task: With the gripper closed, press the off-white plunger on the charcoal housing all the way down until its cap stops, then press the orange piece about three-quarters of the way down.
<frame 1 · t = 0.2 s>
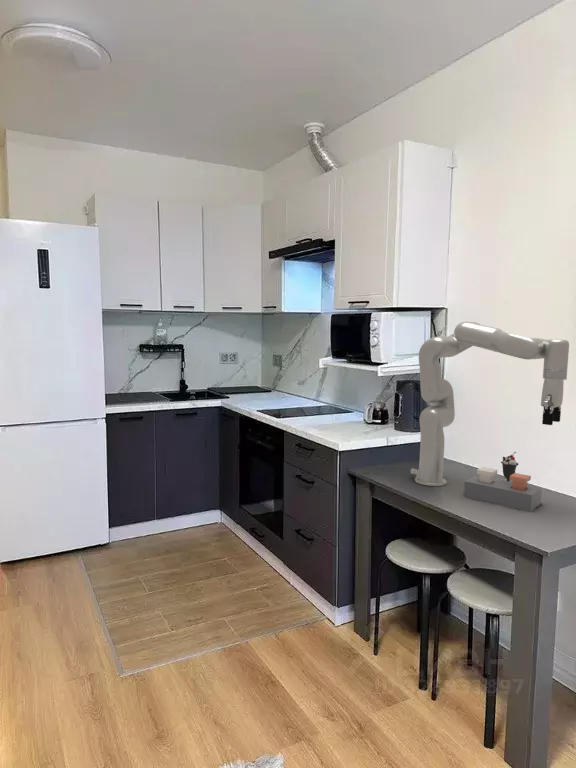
hand: (551, 423, 189), 31 cm above the table, tool pointing down, fingers open, 9 cm apart
orange piece: (519, 485, 194), point 7 cm above the table, slide at 0.0 cm
housing: (501, 500, 199), on the table
sundae: (507, 488, 216), on the table
white plunger: (486, 479, 202), point 7 cm above the table, slide at 0.0 cm
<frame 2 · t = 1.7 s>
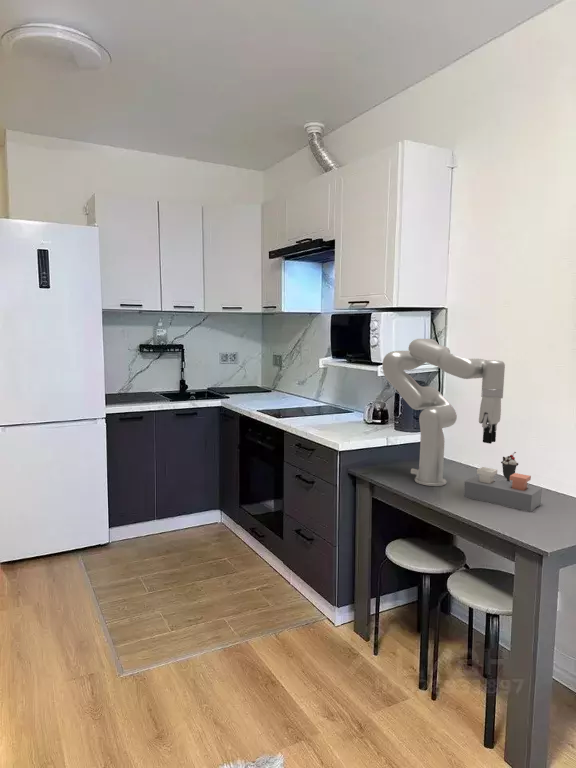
hand: (489, 441, 200), 21 cm above the table, tool pointing down, fingers open, 3 cm apart
nothing on the table moved.
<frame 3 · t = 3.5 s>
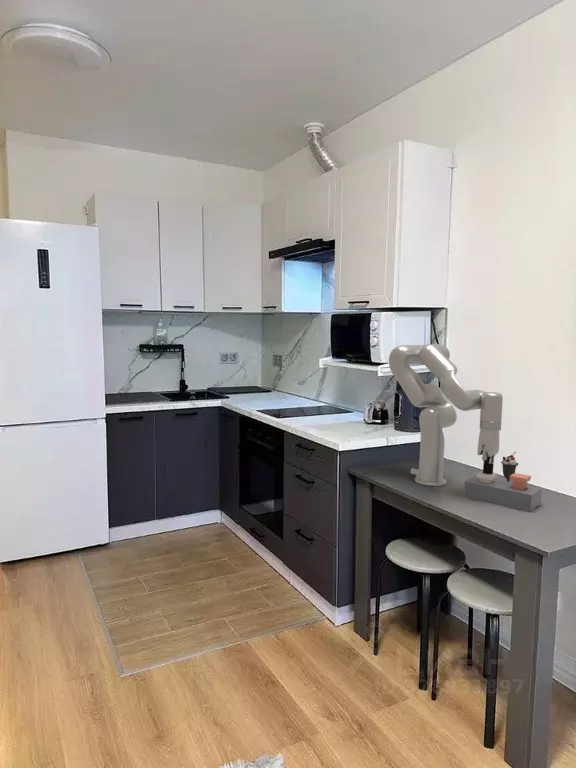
hand: (487, 473, 201), 9 cm above the table, tool pointing down, fingers closed
white plunger: (486, 482, 202), point 5 cm above the table, slide at 1.4 cm, touching gripper
everything else where it was.
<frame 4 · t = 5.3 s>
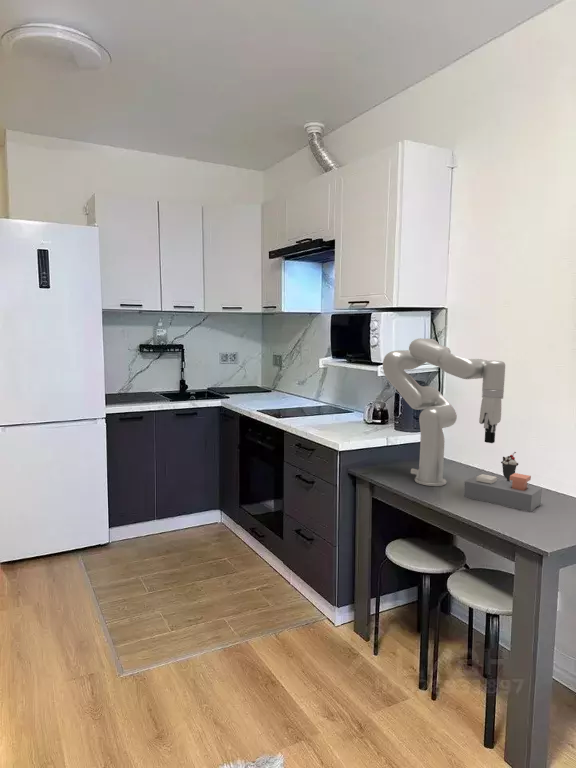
hand: (489, 442, 200), 21 cm above the table, tool pointing down, fingers closed
white plunger: (486, 486, 202), point 4 cm above the table, slide at 2.8 cm
everything else where it was.
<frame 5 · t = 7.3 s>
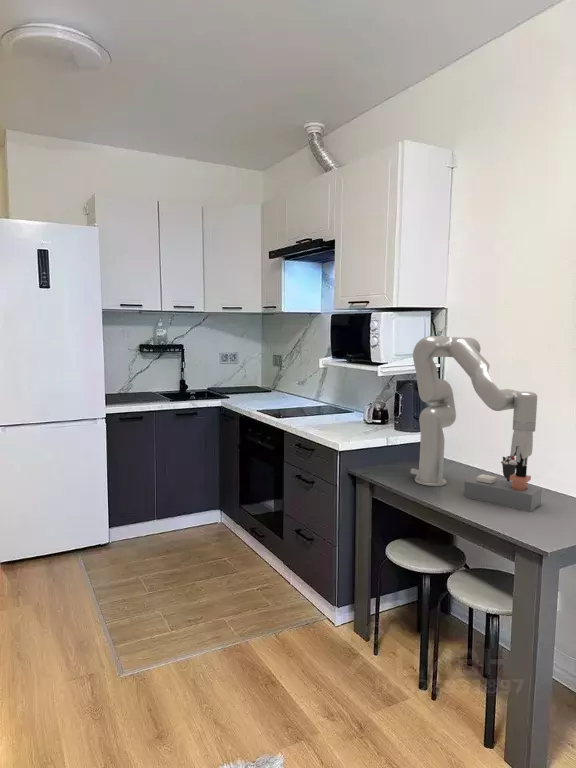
hand: (520, 476, 194), 10 cm above the table, tool pointing down, fingers closed
orange piece: (519, 486, 194), point 7 cm above the table, slide at 0.1 cm, touching gripper
everything else where it was.
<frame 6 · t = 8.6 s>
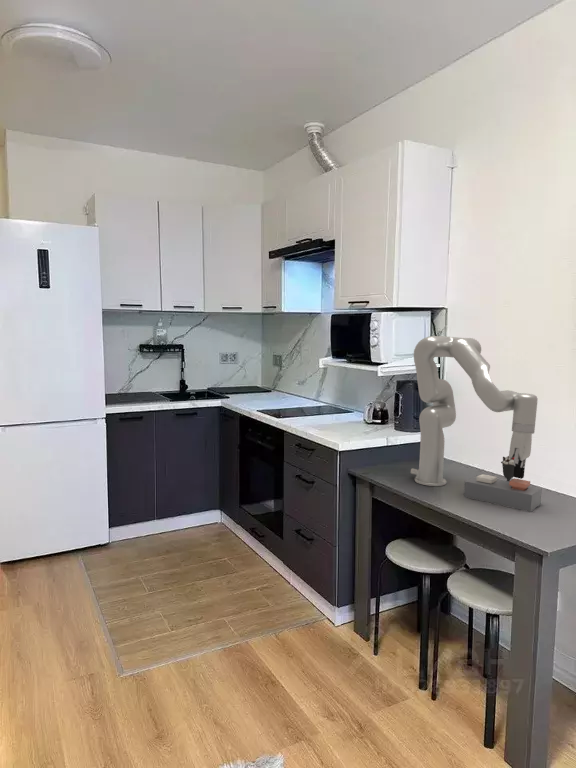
hand: (518, 477, 194), 10 cm above the table, tool pointing down, fingers closed
orange piece: (519, 491, 194), point 5 cm above the table, slide at 2.0 cm
everything else where it was.
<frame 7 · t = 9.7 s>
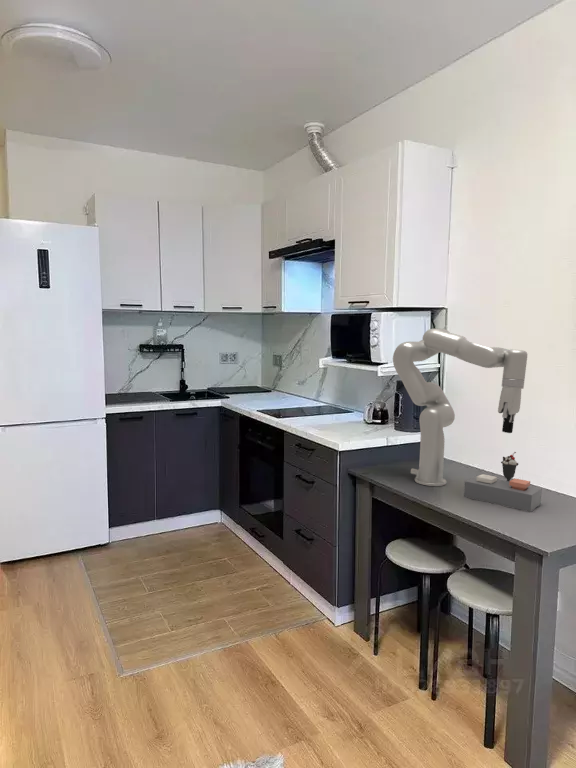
hand: (507, 432, 198), 25 cm above the table, tool pointing down, fingers closed
nothing on the table moved.
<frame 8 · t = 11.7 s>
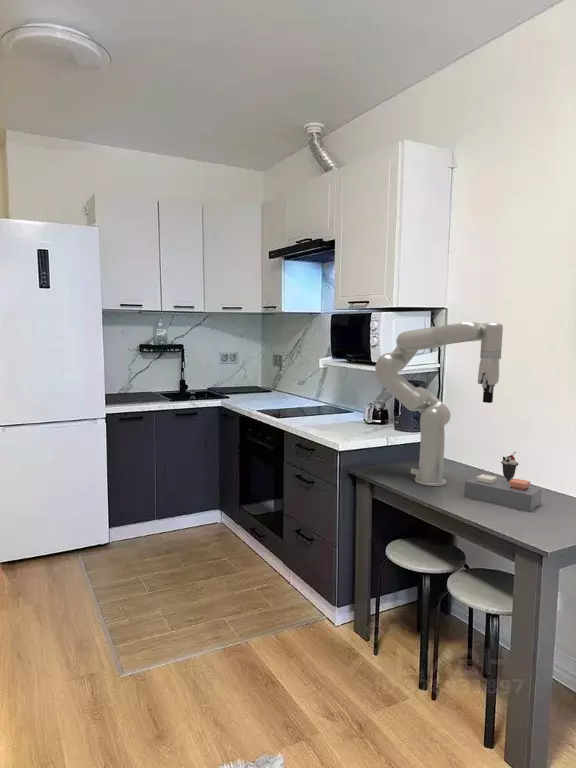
hand: (487, 402, 207), 35 cm above the table, tool pointing down, fingers closed
nothing on the table moved.
at the end: white plunger slide at 2.8 cm; orange piece slide at 2.0 cm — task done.
